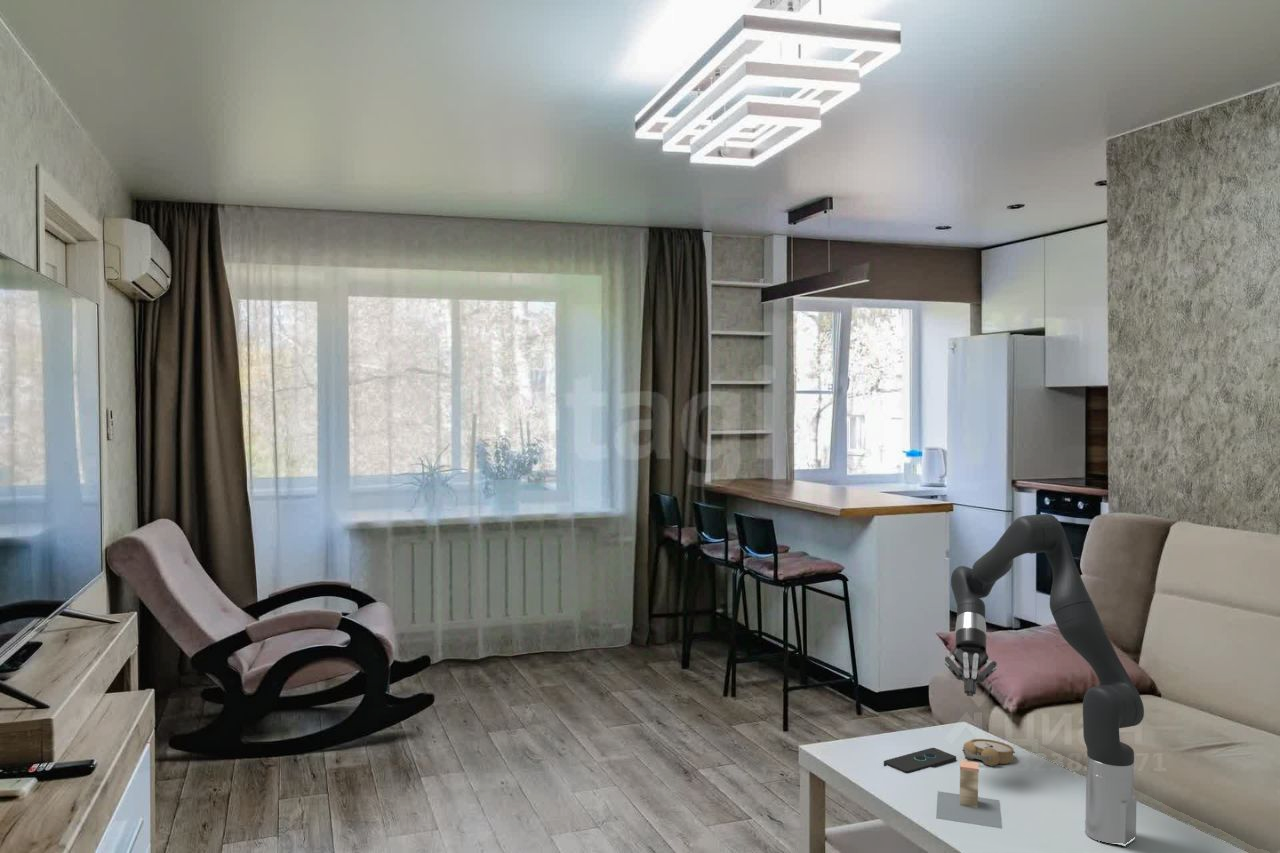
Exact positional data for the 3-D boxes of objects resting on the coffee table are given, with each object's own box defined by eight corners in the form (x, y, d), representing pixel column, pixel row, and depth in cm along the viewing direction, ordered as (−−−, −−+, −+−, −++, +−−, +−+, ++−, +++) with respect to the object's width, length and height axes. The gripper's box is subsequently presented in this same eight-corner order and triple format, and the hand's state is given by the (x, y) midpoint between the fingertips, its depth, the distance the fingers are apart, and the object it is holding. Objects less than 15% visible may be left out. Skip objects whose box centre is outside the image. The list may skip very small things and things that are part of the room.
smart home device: (958, 756, 245) (906, 771, 234) (957, 762, 245) (906, 777, 234) (932, 746, 252) (882, 760, 241) (932, 752, 252) (882, 766, 241)
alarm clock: (1022, 748, 247) (993, 750, 238) (1020, 767, 247) (990, 769, 238) (984, 736, 256) (954, 738, 247) (982, 754, 256) (952, 756, 246)
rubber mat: (999, 802, 219) (999, 800, 219) (1002, 830, 204) (1002, 828, 204) (937, 793, 223) (937, 791, 223) (936, 820, 208) (936, 818, 208)
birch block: (977, 800, 218) (978, 762, 218) (977, 807, 214) (978, 769, 214) (959, 798, 220) (960, 760, 219) (959, 805, 216) (960, 766, 216)
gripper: (944, 623, 238) (942, 683, 227) (998, 628, 234) (999, 690, 222) (943, 639, 243) (941, 699, 232) (997, 644, 239) (998, 705, 227)
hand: (970, 694), depth 227 cm, fingers closed
